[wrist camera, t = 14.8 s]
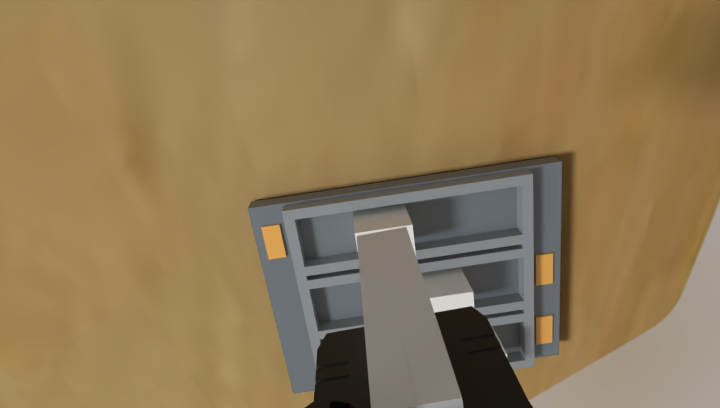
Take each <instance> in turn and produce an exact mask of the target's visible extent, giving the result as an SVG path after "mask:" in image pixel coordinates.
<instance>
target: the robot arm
mask: <svg viewBox="0 0 720 408" xmlns="http://www.w3.org/2000/svg"><path fill="white" fill-rule="evenodd" d="M357 247H358V259H359V271H360V283H361V295H362V307H363V319H364V327H360V328H354V329H348V330H343V331H337V332H332V333H327V334H326V335H325V337H324V339H323V340H322V342H321V344H320V346H319V347H318V349H317V361H316V369H317V370H316V376H315V382H316V384H315V392H314V402H312V403H311V404H310V405H308V406H307V407H305V408H533V407H532V405H531V404H530V402H529V401H528V399H527V397H526V395H525V393H524V391H523V389H522V387H521V385H520V383H519V381H518V379H517V377H516V375H515V373H514V371H513V369H512V367H511V365H510V363H509V361H508V359H507V357H506V355H505V353H504V351H503V350H502V348H501V345H500V343H499V341H498V339H497V337H496V336H495V333H494V331H493V329H492V327H491V325H490V323H489V321H488V319H487V317H485V316H484V315H483V314H481V313H480V312H479V311H478V310H476V309H475V308H474V307H472V306H469V307H463V308H458V309H452V310H447V311H441V312H435V313H434V310H433V307H432V304H431V301H430V298H429V295H428V292H427V289H426V286H425V283H424V279H423V276H422V273H421V270H420V267H419V264H418V261H417V258H416V255H415V252H414V249H413V246H412V243H411V240H410V237H409V234H408V231H407V227H402V228H397V229H391V230H386V231H381V232H375V233H370V234H364V235H359V236H357Z"/></svg>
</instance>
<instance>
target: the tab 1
mask: <svg viewBox="0 0 720 408" xmlns="http://www.w3.org/2000/svg"><path fill="white" fill-rule="evenodd" d="M353 220H354V232H355V239H356V245H357V236H359V235H364V234H370V233H375V232H381V231H386V230H391V229H397V228H402V227H407V231H408V234H409V237H410V240H411V243H412V246H413V249H414V252H415V255H416V251H415V242H414V233H413V224H412V222H411V219H410V217H409V214H408V212H407V209H406V207H405V204H402V205H396V206H389V207H382V208H376V209H369V210H362V211H356V212H353ZM357 251H358V247H357Z"/></svg>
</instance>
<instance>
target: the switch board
mask: <svg viewBox="0 0 720 408" xmlns="http://www.w3.org/2000/svg"><path fill="white" fill-rule="evenodd" d="M561 200H562V161H561V160H559V159H557V158H555V157H553V156H552V157H546V158H539V159H532V160H526V161H519V162H512V163H506V164H499V165H493V166H486V167H479V168H473V169H466V170H459V171H453V172H446V173H439V174H433V175H426V176H419V177H413V178H406V179H399V180H393V181H386V182H379V183H373V184H366V185H359V186H353V187H346V188H339V189H333V190H326V191H319V192H313V193H306V194H299V195H293V196H286V197H279V198H273V199H266V200H259V201H253V202H251V203H250V205H249V207H248V212H249V216H250V220H251V224H252V228H253V232H254V236H255V240H256V244H257V248H258V252H259V256H260V260H261V264H262V268H263V272H264V276H265V280H266V284H267V288H268V292H269V297H270V301H271V305H272V309H273V313H274V317H275V321H276V325H277V329H278V333H279V337H280V341H281V345H282V349H283V353H284V357H285V361H286V365H287V369H288V373H289V377H290V381H291V386H292V390H293V394H294V393H301V392H308V391H315V384H316V382H315V376H316V370H317V369H316V361H317V349H318V347H319V346H320V344H321V342H322V340H323V339H324V337H325V335H326V334H327V333H332V332H337V331H343V330H348V329H354V328H360V327H364V319H363V307H362V295H361V283H360V271H359V259H358V251H357V245H356V239H355V232H354V220H353V212H356V211H362V210H369V209H376V208H382V207H389V206H396V205H402V204H405V207H406V209H407V212H408V214H409V217H410V219H411V222H412V224H413V233H414V242H415V251H416V258H417V261H418V264H419V267H420V270H421V273H423V272H430V271H437V270H444V269H450V268H457V267H461V269H462V271H463V273H464V275H465V277H466V279H467V281H468V283H469V284H470V286H471V288H472V290H473V294H474V308H475V309H476V310H478V311H479V312H480V313H481V314H483V315H484V316H485V317H487V319H488V321H489V323H490V325H491V326H493V328H494V330H495V332H496V334H497V336H498V338H499V339H500V341H501V343H502V345H503V347H504V349H505V351H506V353H507V359H508V361H509V363H510V365H511V367H512V369H520V368H526V367H533V366H534V358H539V357H545V356H552V355H559V322H560V261H561Z"/></svg>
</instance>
